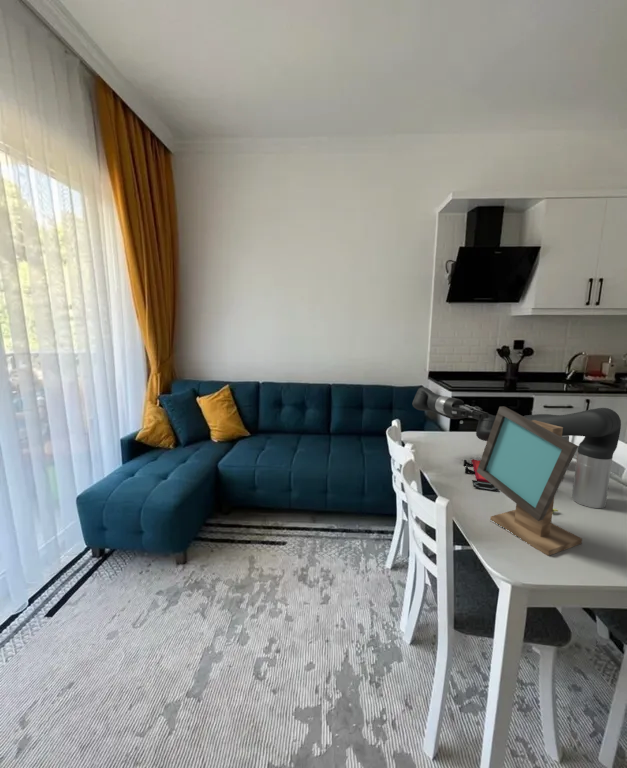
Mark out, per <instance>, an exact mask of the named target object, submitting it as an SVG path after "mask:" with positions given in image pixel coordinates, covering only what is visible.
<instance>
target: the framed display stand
mask: <svg viewBox="0 0 627 768" xmlns="http://www.w3.org/2000/svg"><path fill="white" fill-rule="evenodd" d="M532 422H534V423H536V424H538V425H540V426H542V427H544V428H545V429H547V430H549V431H551V432H553V433H555V434H557V435H558V436H560V437H562V431H563V427H559V426H555V425H551V424H547V423H543V422H539V421H536V420H532ZM554 501H555V497H554V498H553V500H552V502H551V504H550V506H549V508H548V511H547V513H546V515H545V517H544V519H543V520H540V521H537V520H536V519H535V518H534V517H532V516H531V515H530V514H529V513H527V512H526V511H525V510H524V509H522V508H521V507H520V506H519V505H517V504H516V503H515V509H512V510H510V511H505V512H502V513H499V514H494V515H492V516H490V520H492V521H494V522H495V523H497V524H499V525H500V526H502V527H504V528H505V529H507V530H509V531H510V532H512V533H513V534H514V535H516V536H518V537H519V538H521V539H522V540H521V539H520V540H521V541H523V542H524V541H525V542H524V543H526V542H527V543H526V544H527V545H529V544H530V546H531V547H533V548H534V549H536V550H538V551H539V552H541V553H542V554H544V555H546V556H547V557H549V556H551V555H552V556H553V555H555V554H558V553H560V552H562V551H563V552H564V551H565V550H567V549H570V548H575V547H576V546H579V545H582V542H583V538H582V537H580V536H577V535H575V534H574V533H572V532H570V531H568V530H566V529H564V528H562V527H560V526H559V525H557V524H554V523H552V519H553V518H552V517H553V513H554V512H553V509H554ZM552 512H553V513H552ZM490 520H489V521H490ZM513 534H512V535H513ZM514 535H513V536H514ZM516 536H515V537H516ZM518 537H517V538H518ZM519 538H518V539H519Z"/></svg>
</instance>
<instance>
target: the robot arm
mask: <svg viewBox="0 0 627 768" xmlns="http://www.w3.org/2000/svg"><path fill="white" fill-rule="evenodd" d="M411 404H412V407H413V408H414V409H416V410H418V411H425V412H431V413H435V414H437V415H440V416H442V417H445V418H447V419H450V420H460V419H465V418H467V419H475V420H477V421H478V422H477V423H478V424H477V427H476V431H475V435H476V438H477V439H479V440H481V441H482V442H483V441H484V442H487V441H488V438H489V435H490V432H491V429H492V427H493V424H494V421H495V418H496V415H493V414H490V413H489V412H486V411H483V408H482V407H479V406H478V405H475V406H470V405H469V404H465V403H464V401H463V400H462V399H459V398H455V397H451V396H446V395H445V396H444V395H440V394H437V393H435V392H433V391H432V390H431V389H430V388H427V387H425V386H422V387H419V388H417V391H416V393H415V395H414V398H413V400H412V403H411ZM522 416H523V415H522ZM523 417H525V418H527V419H529V420H531V421H532V420H536V421H539V422H543V423H547V424H551V425H555V426H559V427H563V431H562V436H569V437H570V436H572V437H573V436H574V437H584V438H583V439H582V441H581V442H580V443H579V444H578V445H577V446H578V448H577V455H576V461H575V469H574V476H573V477H574V478H573V485H572V490H571V491H572V493H571V499H572V500H573V501H574V502H576V503H577V504H579V505H582V506H586V507H588V508H592V509H602V508H603V509H604V508H605V507H606V503H607V498H608V491H609V485H610V478H611V471H612V463H613V458H614V457H613V455H614V453H615V451H616V450H617V448H618V443H619V440H620V434H621V429H622V423H621V422H622V421H621V418H620V417H621V416H620V415H619V414H618V413H617V412H616V411H615V410H613V409H611V408H607V407H597V408H592V409H591V408H590V409H586V410H583V411H578V412H574V413H567V414H566V413H565V414H559V415H558V414H547V413H544V414H543V413H541V414H539V413H538V414H537V413H536V414H529V415H528V414H527V415H524V416H523Z"/></svg>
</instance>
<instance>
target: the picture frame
mask: <svg viewBox="0 0 627 768" xmlns="http://www.w3.org/2000/svg"><path fill="white" fill-rule="evenodd" d="M495 416H496V418H495V421H494V424H493V427H492V429H491V432H490V435H489V438H488V441H486V442H487V444H486V443H485V447H484V449H483V452H482V455H481V458H480V463H479V466H478V469H477V473H479V474H480V475H481V476H482V477H484V478H485V479H486V480H487V481H489V482H490V483H491V484H492V485H494V486H495V487H496V488H497V489H498V490H499V491H500V492H502V493H503V494H504V495H505V496H506V497H508V498H509V499H510V500H511V501H513V503H515V505H516V504H517V505H519V506H520V507H521V508H522V509H524V510H525V511H526V512H527V513H529V514H530V515H531V516H532V517H534V518H535V519H536V520H537V521H540V520H543V519H544V517H545V515H546V513H547V511H548V508H549V506H550V504H551V502H552V500H553V498H554V499H555V496H556V493H557V492H558V490H559V489H560V488H559V487H560V486H561V483H562V481H563V479H564V477H565V475H566V473H567V470H569V466H570V465H571V462H572V460H573V458H574V456H575V454H576V451H578V446H579V445H577V444H575V443H573V442H572V441H570V440H569V441H568V440H566V439H564V438H562V437H560V436H558V435H557V434H555V433H553V432H551V431H549V430H547V429H545V428H544V427H542V426H540V425H538V424H536V423H534V422H532V421H531V420H529V419H527V418H525V417H523V415H521V414H519V413H518V412H516V411H514V410H512V409H510V408H508V407H507V406H505V405H504V406H499V407H498V410H497V413H496V415H495Z"/></svg>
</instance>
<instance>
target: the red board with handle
mask: <svg viewBox="0 0 627 768" xmlns="http://www.w3.org/2000/svg"><path fill="white" fill-rule="evenodd" d="M480 461H481V459H480V460H478V459H471V463H470V462H468V461H467V460H466V459H464V460H463V467H465V466H466V467H465V470H464V474H465V475H468V474H469V473H470V474H473V475H475V480H474V479H471V481H472V486H473V487H474V488H478V489H479V488H480V489H486V490H492V491H500V490H499V489H497V488H496V487H495V486H494V485H492V484H491V483H490V482H489V481H487V480H486V479H485V478H484V477H482V476H481V475H480V474H479V473H477V469H478V466H479V463H480ZM469 467H471V468H473V470H472V469H471V468H469Z"/></svg>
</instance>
